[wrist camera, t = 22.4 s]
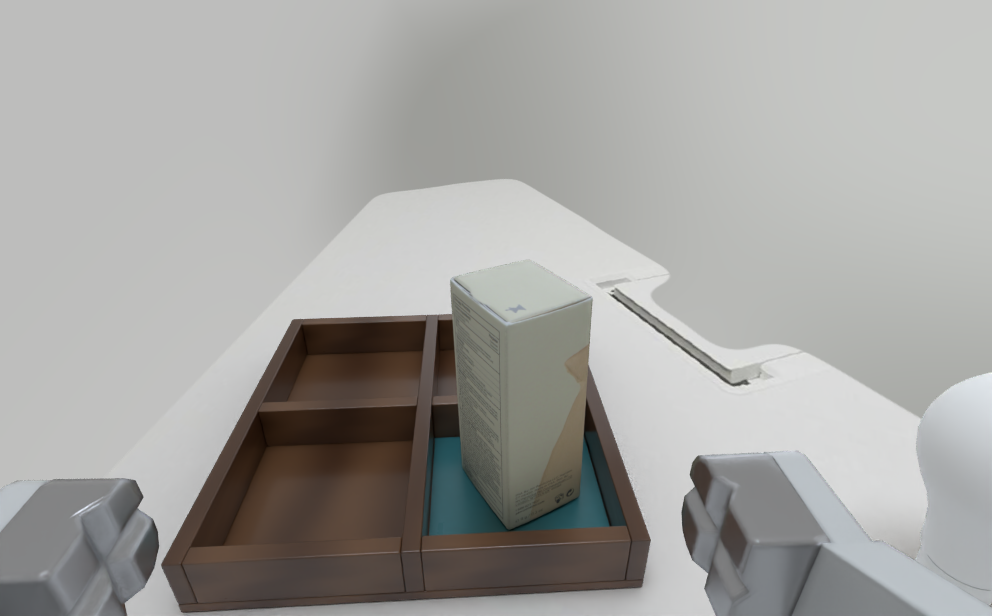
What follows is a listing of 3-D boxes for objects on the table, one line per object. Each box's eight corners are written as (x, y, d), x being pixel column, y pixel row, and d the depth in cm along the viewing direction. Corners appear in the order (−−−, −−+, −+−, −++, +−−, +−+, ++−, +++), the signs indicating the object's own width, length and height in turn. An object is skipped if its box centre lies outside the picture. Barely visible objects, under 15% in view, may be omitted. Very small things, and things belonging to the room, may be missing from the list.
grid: (180, 612, 23) (159, 565, 22) (300, 355, 40) (292, 318, 39) (642, 587, 24) (651, 540, 22) (567, 345, 41) (569, 310, 40)
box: (582, 498, 27) (601, 299, 22) (506, 535, 25) (507, 326, 20) (525, 435, 31) (530, 254, 26) (456, 463, 30) (446, 273, 24)
